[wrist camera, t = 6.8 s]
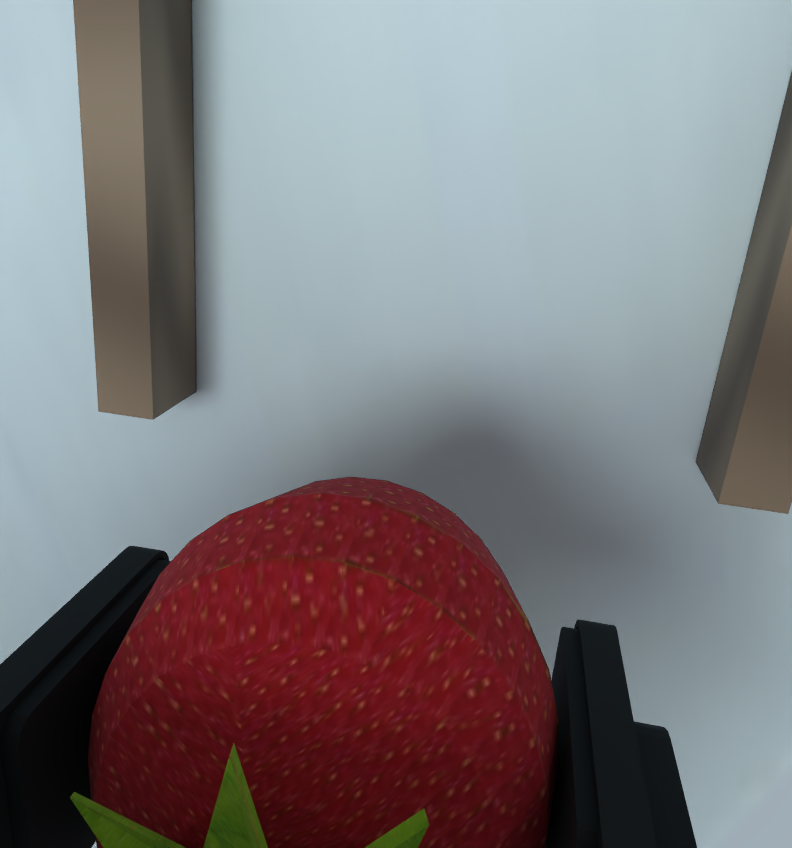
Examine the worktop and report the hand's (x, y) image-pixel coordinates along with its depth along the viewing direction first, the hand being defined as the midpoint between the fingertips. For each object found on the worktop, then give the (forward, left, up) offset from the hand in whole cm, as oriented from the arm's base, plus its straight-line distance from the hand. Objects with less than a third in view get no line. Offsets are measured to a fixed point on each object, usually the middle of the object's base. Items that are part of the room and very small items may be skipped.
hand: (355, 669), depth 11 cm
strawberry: (0, 0, -4) cm, 4 cm away
